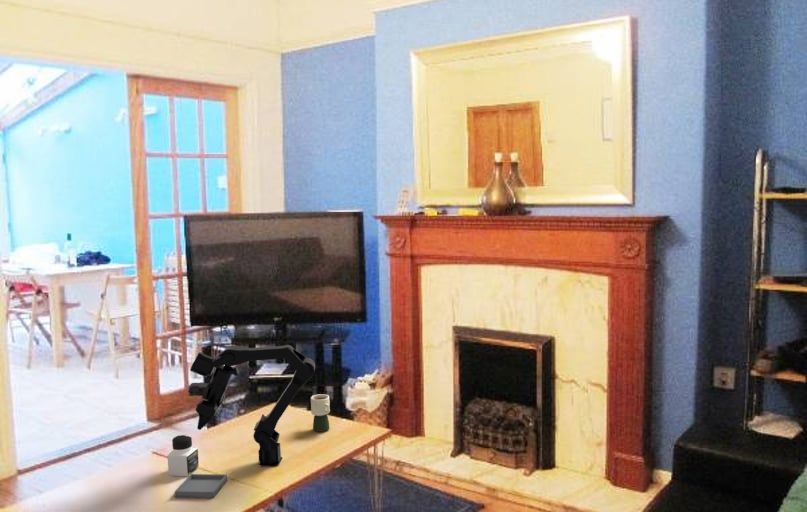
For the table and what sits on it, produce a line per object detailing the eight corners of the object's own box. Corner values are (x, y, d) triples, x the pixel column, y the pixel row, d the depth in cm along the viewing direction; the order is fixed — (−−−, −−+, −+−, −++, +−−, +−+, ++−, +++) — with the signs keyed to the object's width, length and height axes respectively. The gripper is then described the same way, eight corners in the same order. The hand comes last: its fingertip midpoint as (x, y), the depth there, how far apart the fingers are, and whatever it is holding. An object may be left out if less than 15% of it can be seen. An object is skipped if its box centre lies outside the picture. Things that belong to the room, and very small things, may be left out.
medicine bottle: (188, 477, 213) (186, 441, 212) (168, 475, 214) (165, 440, 213) (199, 467, 220) (197, 433, 219) (179, 466, 221) (177, 432, 220)
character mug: (337, 431, 250) (336, 397, 248) (322, 436, 245) (320, 402, 244) (320, 423, 258) (319, 391, 256) (305, 428, 253) (304, 396, 252)
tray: (227, 480, 210) (227, 474, 209) (213, 498, 198) (213, 492, 198) (191, 480, 211) (190, 474, 210) (175, 497, 199) (174, 491, 199)
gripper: (202, 365, 227) (185, 406, 228) (189, 381, 208) (171, 425, 209) (233, 377, 228) (216, 417, 229) (223, 394, 209) (204, 438, 210)
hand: (201, 424), depth 219 cm, fingers open, 9 cm apart
